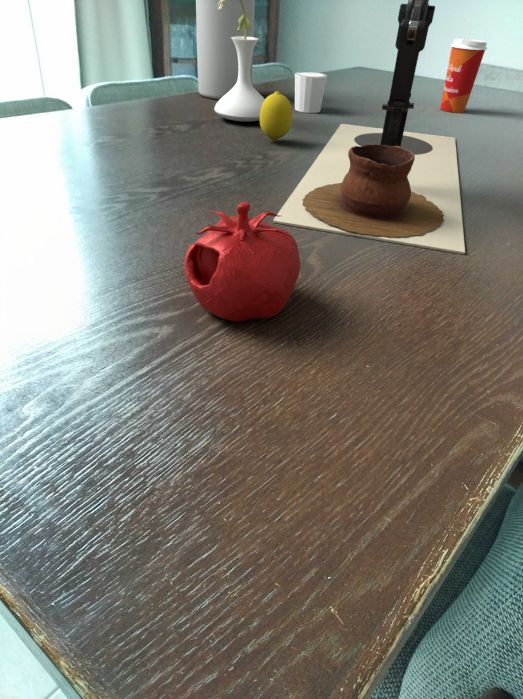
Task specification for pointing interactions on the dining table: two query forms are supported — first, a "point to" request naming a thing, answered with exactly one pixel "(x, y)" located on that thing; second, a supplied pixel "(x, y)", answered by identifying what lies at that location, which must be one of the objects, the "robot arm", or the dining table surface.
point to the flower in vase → (241, 80)
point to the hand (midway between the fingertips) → (387, 160)
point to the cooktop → (424, 178)
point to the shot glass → (309, 91)
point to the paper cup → (461, 73)
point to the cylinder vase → (220, 44)
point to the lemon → (275, 116)
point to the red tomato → (243, 267)
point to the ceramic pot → (375, 196)
